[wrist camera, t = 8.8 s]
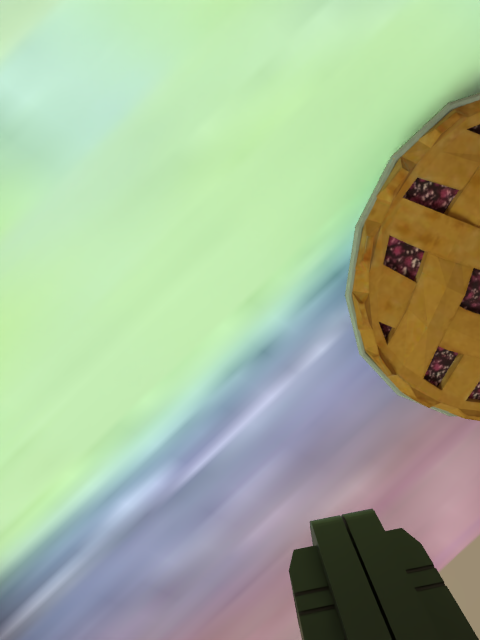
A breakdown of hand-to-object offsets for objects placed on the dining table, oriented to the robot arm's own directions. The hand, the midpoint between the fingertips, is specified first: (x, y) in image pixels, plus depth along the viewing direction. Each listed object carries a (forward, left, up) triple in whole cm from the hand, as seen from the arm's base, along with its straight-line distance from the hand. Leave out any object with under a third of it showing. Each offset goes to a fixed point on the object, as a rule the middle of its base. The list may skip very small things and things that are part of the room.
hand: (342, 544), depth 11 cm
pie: (0, +17, -22) cm, 28 cm away
